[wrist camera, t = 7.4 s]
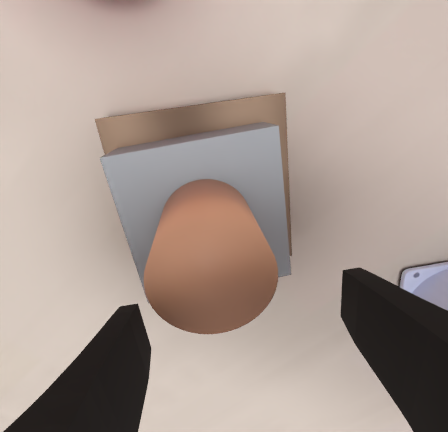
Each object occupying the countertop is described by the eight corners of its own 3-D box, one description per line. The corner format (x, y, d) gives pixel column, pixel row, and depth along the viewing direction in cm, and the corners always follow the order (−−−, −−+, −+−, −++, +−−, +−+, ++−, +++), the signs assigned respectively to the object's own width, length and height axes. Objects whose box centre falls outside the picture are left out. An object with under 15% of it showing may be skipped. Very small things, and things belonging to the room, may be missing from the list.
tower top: (263, 121, 15) (278, 125, 12) (276, 248, 18) (291, 274, 15) (117, 148, 15) (99, 157, 12) (155, 272, 18) (148, 303, 15)
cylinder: (245, 171, 13) (272, 208, 8) (255, 253, 15) (282, 321, 10) (151, 187, 13) (126, 234, 8) (172, 267, 15) (161, 344, 10)
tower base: (270, 94, 17) (285, 92, 15) (278, 235, 21) (291, 255, 19) (110, 116, 17) (94, 119, 14) (148, 257, 21) (141, 280, 18)
